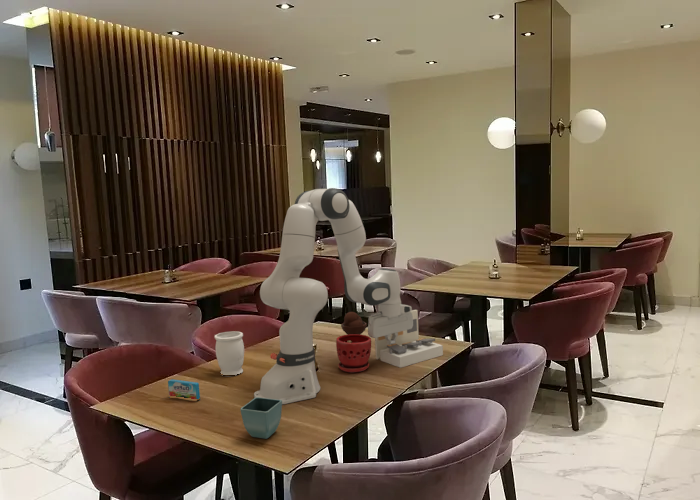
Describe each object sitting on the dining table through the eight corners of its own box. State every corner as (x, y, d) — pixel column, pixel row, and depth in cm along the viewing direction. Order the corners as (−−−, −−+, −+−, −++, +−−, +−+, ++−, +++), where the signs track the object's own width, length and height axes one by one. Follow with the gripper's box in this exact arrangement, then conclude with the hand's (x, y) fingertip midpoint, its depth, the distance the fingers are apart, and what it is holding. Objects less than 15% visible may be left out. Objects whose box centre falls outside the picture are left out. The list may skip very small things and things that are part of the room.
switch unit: (400, 367, 208) (398, 325, 206) (375, 358, 220) (373, 319, 218) (442, 355, 220) (441, 315, 218) (417, 347, 232) (415, 309, 231)
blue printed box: (169, 398, 189) (167, 380, 189) (172, 396, 191) (170, 379, 190) (197, 402, 184) (195, 384, 183) (200, 400, 186) (198, 382, 185)
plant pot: (351, 377, 200) (349, 344, 199) (330, 368, 211) (329, 338, 209) (379, 368, 208) (378, 337, 206) (358, 361, 218) (356, 331, 217)
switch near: (398, 353, 210) (398, 351, 210) (386, 347, 216) (387, 344, 215) (406, 351, 213) (406, 349, 212) (394, 344, 218) (394, 342, 218)
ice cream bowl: (368, 348, 235) (366, 313, 233) (341, 349, 235) (339, 314, 233) (367, 341, 245) (366, 308, 243) (342, 342, 245) (340, 309, 244)
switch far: (427, 342, 219) (427, 340, 219) (416, 342, 224) (415, 340, 224) (435, 340, 221) (434, 338, 221) (423, 340, 227) (423, 338, 227)
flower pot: (269, 443, 151) (267, 411, 150) (241, 439, 155) (239, 408, 153) (284, 429, 159) (282, 399, 158) (258, 426, 163) (255, 396, 162)
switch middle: (413, 346, 214) (413, 344, 214) (402, 346, 220) (401, 343, 220) (421, 344, 217) (420, 342, 217) (409, 344, 222) (409, 341, 222)
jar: (212, 376, 209) (209, 337, 207) (226, 367, 218) (223, 330, 217) (237, 378, 205) (234, 338, 204) (250, 369, 215) (247, 331, 213)
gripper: (373, 315, 206) (375, 351, 208) (414, 306, 218) (416, 340, 220) (363, 313, 212) (365, 348, 213) (404, 304, 223) (405, 337, 225)
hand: (391, 344), depth 217 cm, fingers closed, pressing on switch near
